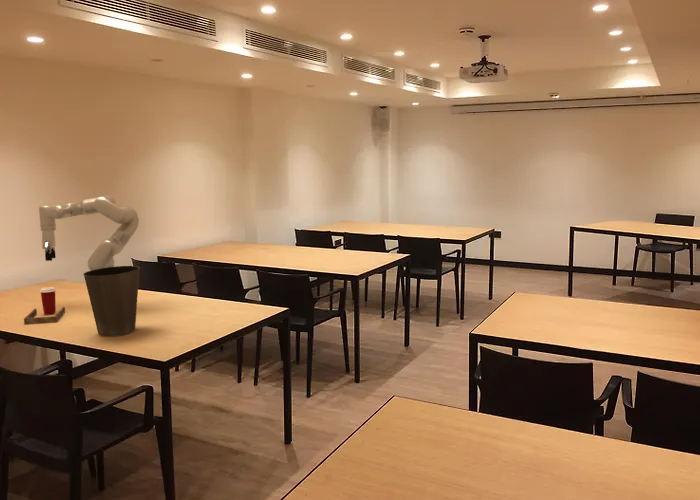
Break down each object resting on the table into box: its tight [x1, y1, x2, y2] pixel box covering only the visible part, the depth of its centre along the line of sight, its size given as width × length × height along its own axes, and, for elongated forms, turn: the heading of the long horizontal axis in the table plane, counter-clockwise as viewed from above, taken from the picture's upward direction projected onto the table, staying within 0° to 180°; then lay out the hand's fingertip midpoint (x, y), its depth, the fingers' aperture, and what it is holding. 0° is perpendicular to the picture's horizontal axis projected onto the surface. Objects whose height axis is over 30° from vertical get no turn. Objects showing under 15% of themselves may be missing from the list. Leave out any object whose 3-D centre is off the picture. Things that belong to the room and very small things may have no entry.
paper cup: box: [39, 286, 57, 316], centre depth 322 cm, size 8×8×14 cm
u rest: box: [23, 306, 66, 325], centre depth 314 cm, size 15×21×3 cm
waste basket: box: [83, 265, 141, 337], centre depth 286 cm, size 27×20×30 cm
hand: (50, 259), depth 330 cm, fingers open, 7 cm apart
